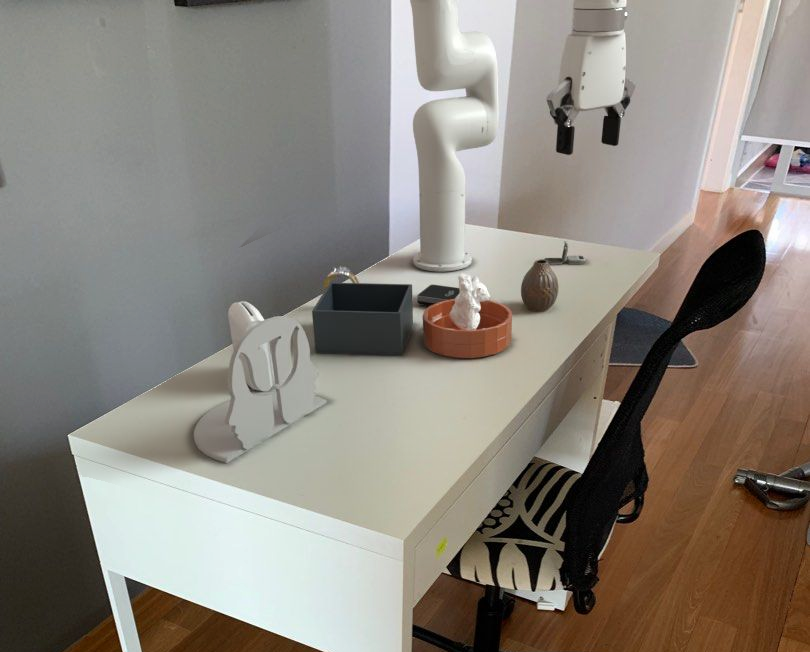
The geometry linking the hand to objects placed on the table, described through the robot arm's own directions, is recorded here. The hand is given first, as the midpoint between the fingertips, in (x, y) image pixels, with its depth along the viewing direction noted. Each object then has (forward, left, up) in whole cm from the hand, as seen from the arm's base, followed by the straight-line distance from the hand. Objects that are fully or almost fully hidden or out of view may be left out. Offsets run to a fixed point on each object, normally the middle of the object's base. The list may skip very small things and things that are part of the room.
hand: (587, 148), depth 134 cm
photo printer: (+25, -51, -30) cm, 64 cm away
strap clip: (-37, -1, -30) cm, 48 cm away
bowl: (+7, -18, -30) cm, 36 cm away
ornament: (+39, -48, -30) cm, 69 cm away
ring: (-7, -43, -30) cm, 53 cm away
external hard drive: (-11, -23, -30) cm, 40 cm away
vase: (-10, -6, -30) cm, 32 cm away
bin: (+7, -36, -30) cm, 47 cm away
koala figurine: (+7, -18, -30) cm, 35 cm away
